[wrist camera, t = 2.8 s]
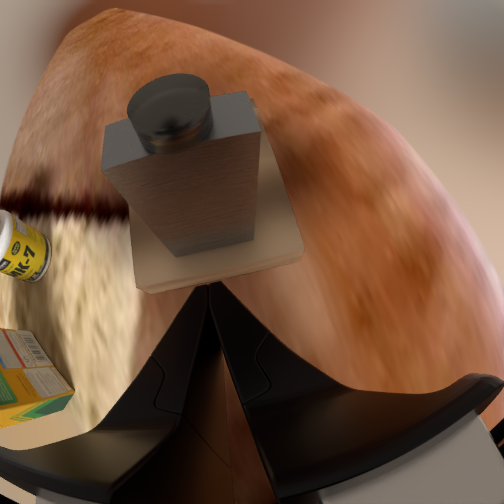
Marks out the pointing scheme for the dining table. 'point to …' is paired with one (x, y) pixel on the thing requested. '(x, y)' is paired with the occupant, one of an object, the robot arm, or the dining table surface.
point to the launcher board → (229, 257)
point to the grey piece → (187, 163)
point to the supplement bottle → (22, 249)
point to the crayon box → (28, 380)
